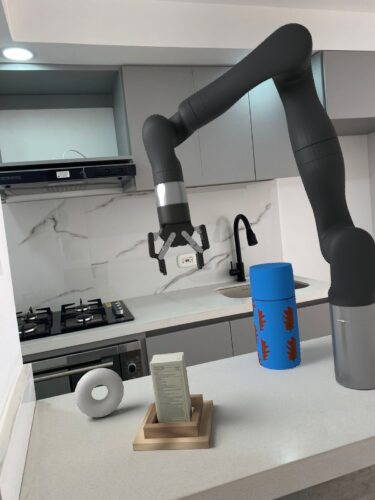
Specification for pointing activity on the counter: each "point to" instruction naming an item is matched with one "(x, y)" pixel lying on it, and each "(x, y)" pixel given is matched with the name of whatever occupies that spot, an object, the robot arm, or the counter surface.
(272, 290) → the thermos
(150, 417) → the wooden square holder
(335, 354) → the robot arm
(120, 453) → the counter surface
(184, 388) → the skincare box
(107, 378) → the donut
